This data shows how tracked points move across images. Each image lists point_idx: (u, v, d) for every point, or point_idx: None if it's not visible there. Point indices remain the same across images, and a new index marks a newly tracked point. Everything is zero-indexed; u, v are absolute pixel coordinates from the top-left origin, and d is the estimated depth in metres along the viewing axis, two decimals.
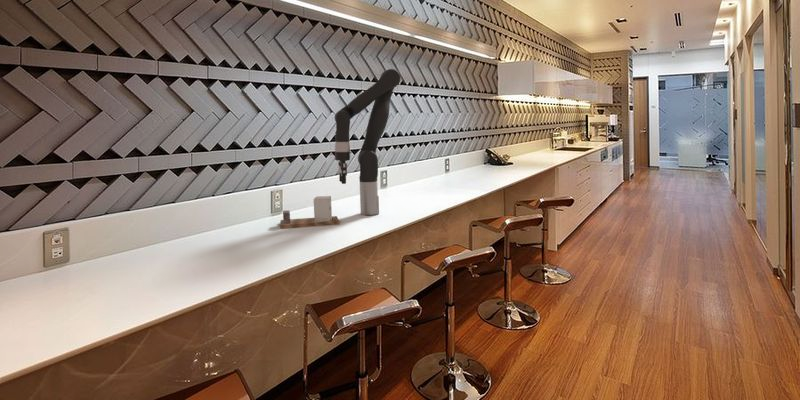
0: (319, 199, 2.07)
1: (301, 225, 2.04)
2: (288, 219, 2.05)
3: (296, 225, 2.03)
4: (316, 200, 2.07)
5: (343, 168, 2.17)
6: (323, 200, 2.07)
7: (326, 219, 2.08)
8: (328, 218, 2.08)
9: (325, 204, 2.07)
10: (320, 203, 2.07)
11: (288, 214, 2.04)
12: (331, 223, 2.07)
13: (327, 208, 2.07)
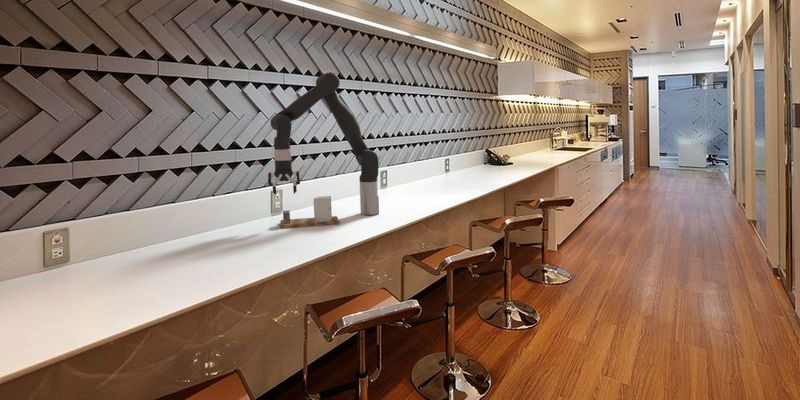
0: (319, 199, 2.07)
1: (301, 225, 2.04)
2: (288, 219, 2.05)
3: (296, 225, 2.03)
4: (316, 200, 2.07)
5: None
6: (323, 200, 2.07)
7: (326, 219, 2.08)
8: (328, 218, 2.08)
9: (325, 204, 2.07)
10: (320, 203, 2.07)
11: (288, 214, 2.04)
12: (331, 223, 2.07)
13: (327, 208, 2.07)
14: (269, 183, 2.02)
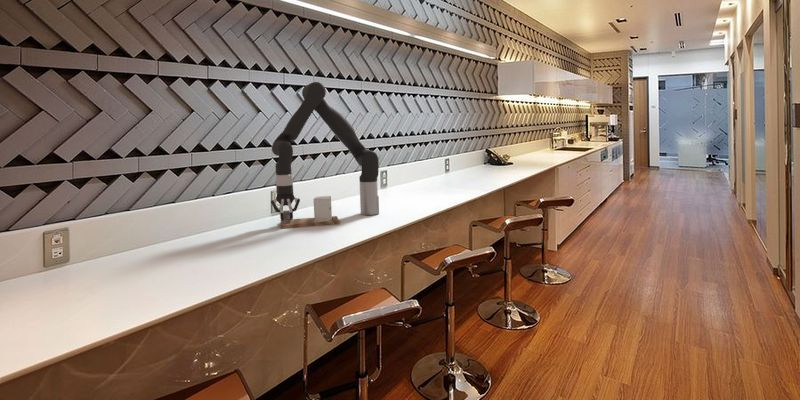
0: (319, 199, 2.07)
1: (301, 225, 2.04)
2: (288, 219, 2.05)
3: (296, 225, 2.03)
4: (316, 200, 2.07)
5: None
6: (323, 200, 2.07)
7: (326, 219, 2.08)
8: (328, 218, 2.08)
9: (325, 204, 2.07)
10: (320, 203, 2.07)
11: (288, 214, 2.04)
12: (331, 223, 2.07)
13: (327, 208, 2.07)
14: (277, 210, 2.04)
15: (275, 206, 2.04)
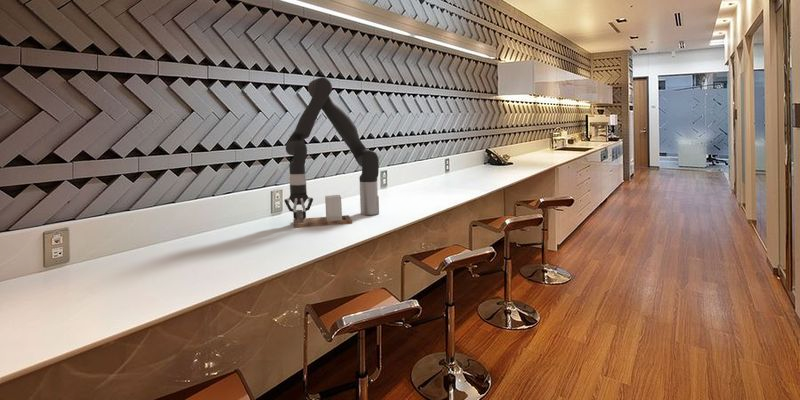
0: (332, 198, 2.09)
1: (314, 224, 2.05)
2: (301, 218, 2.06)
3: (309, 224, 2.05)
4: (329, 199, 2.08)
5: None
6: (336, 199, 2.09)
7: (339, 217, 2.11)
8: (341, 216, 2.11)
9: (338, 203, 2.09)
10: (333, 202, 2.09)
11: (301, 213, 2.06)
12: (344, 222, 2.08)
13: (340, 206, 2.10)
14: (290, 209, 2.06)
15: (288, 205, 2.05)
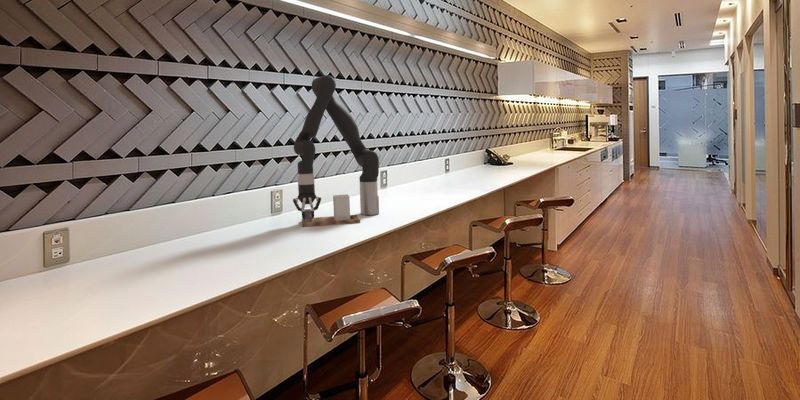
0: (340, 197, 2.10)
1: (323, 223, 2.06)
2: (310, 217, 2.07)
3: (318, 223, 2.05)
4: (337, 199, 2.09)
5: None
6: (344, 198, 2.10)
7: (347, 217, 2.12)
8: (349, 216, 2.12)
9: (346, 202, 2.10)
10: (341, 201, 2.10)
11: (310, 213, 2.07)
12: (352, 221, 2.09)
13: (348, 206, 2.11)
14: (298, 208, 2.07)
15: (297, 205, 2.06)
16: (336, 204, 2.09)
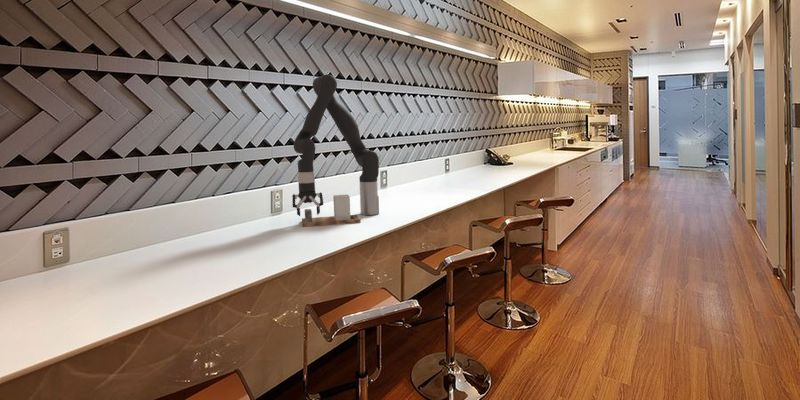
0: (340, 197, 2.10)
1: (323, 223, 2.06)
2: (310, 217, 2.07)
3: (318, 223, 2.05)
4: (337, 199, 2.09)
5: None
6: (344, 198, 2.10)
7: (347, 217, 2.12)
8: (349, 216, 2.12)
9: (346, 202, 2.11)
10: (341, 201, 2.10)
11: (310, 213, 2.07)
12: (352, 221, 2.09)
13: (348, 206, 2.11)
14: (293, 205, 2.06)
15: (294, 201, 2.06)
16: (336, 204, 2.10)
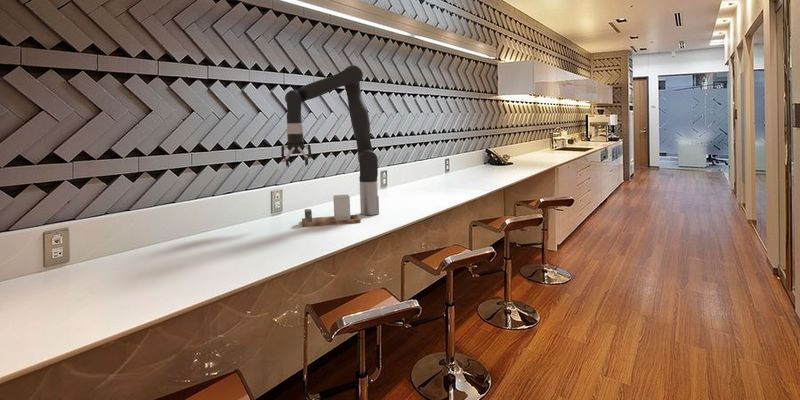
0: (340, 197, 2.10)
1: (323, 223, 2.06)
2: (310, 217, 2.07)
3: (318, 223, 2.05)
4: (337, 199, 2.09)
5: (310, 149, 2.16)
6: (344, 198, 2.10)
7: (347, 217, 2.12)
8: (349, 216, 2.12)
9: (346, 202, 2.11)
10: (341, 201, 2.10)
11: (310, 213, 2.07)
12: (352, 221, 2.09)
13: (348, 206, 2.11)
14: (282, 156, 2.12)
15: (283, 152, 2.12)
16: (336, 204, 2.10)
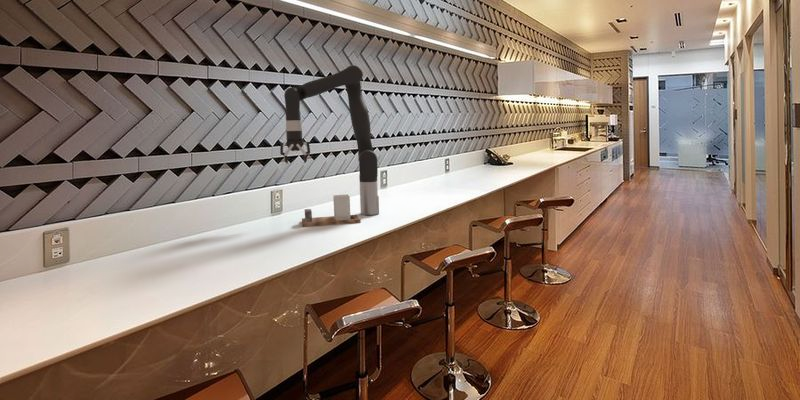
0: (340, 197, 2.10)
1: (323, 223, 2.06)
2: (310, 217, 2.07)
3: (318, 223, 2.05)
4: (337, 199, 2.09)
5: None
6: (344, 198, 2.10)
7: (347, 217, 2.12)
8: (349, 216, 2.12)
9: (346, 202, 2.11)
10: (341, 201, 2.10)
11: (310, 213, 2.07)
12: (352, 221, 2.09)
13: (348, 206, 2.11)
14: (281, 152, 2.14)
15: (282, 149, 2.14)
16: (336, 204, 2.10)
